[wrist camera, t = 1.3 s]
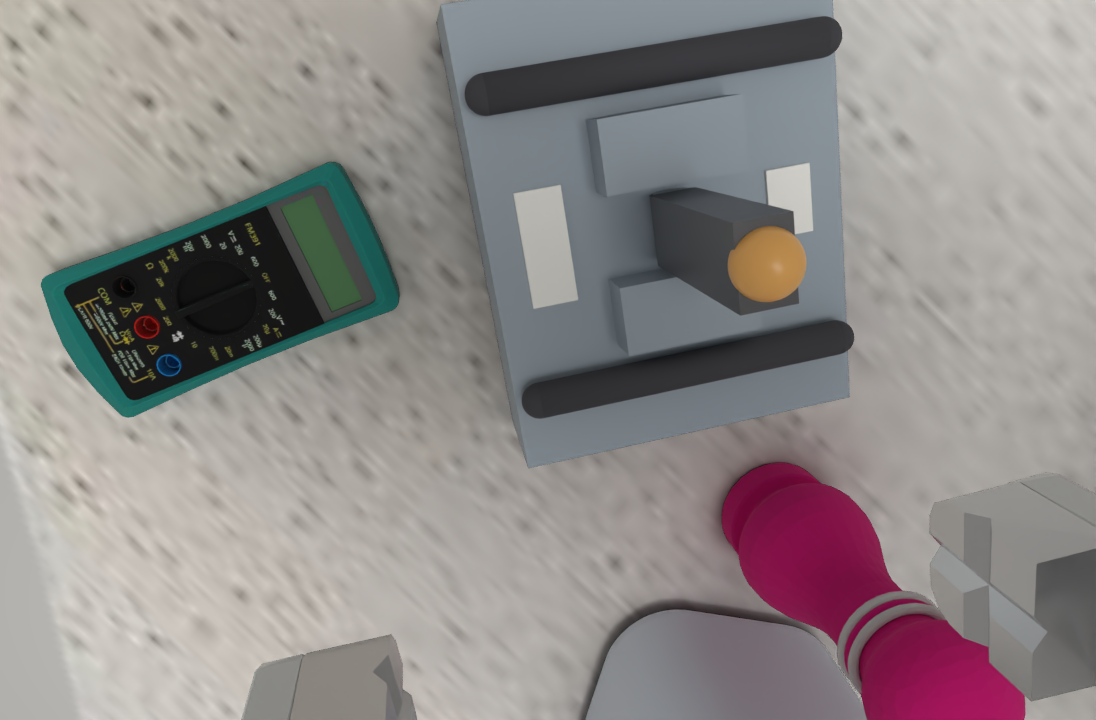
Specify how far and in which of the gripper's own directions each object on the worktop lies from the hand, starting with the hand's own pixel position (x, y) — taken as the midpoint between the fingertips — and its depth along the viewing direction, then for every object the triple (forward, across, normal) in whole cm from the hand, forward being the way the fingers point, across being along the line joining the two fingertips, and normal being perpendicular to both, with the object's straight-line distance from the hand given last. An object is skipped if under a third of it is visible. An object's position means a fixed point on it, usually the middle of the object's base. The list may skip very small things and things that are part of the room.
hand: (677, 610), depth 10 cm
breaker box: (+31, +8, 0) cm, 32 cm away
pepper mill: (+31, +14, -19) cm, 39 cm away
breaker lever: (+24, +8, 0) cm, 26 cm away
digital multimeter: (+32, -12, 0) cm, 34 cm away
